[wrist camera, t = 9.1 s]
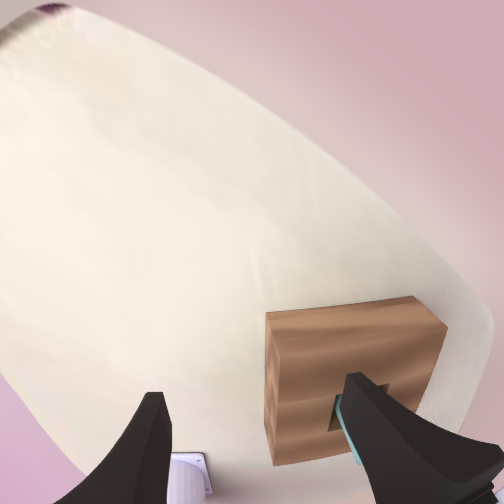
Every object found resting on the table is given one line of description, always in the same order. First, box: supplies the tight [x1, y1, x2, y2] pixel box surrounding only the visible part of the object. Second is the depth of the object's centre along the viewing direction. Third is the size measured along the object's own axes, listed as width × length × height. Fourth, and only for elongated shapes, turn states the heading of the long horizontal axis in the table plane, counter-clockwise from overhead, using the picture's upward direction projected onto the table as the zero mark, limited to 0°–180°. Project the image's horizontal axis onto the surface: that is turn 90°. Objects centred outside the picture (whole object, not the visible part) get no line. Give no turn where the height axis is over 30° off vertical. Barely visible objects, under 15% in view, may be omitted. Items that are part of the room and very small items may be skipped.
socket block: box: [264, 296, 448, 466], centre depth 22 cm, size 12×12×5 cm
